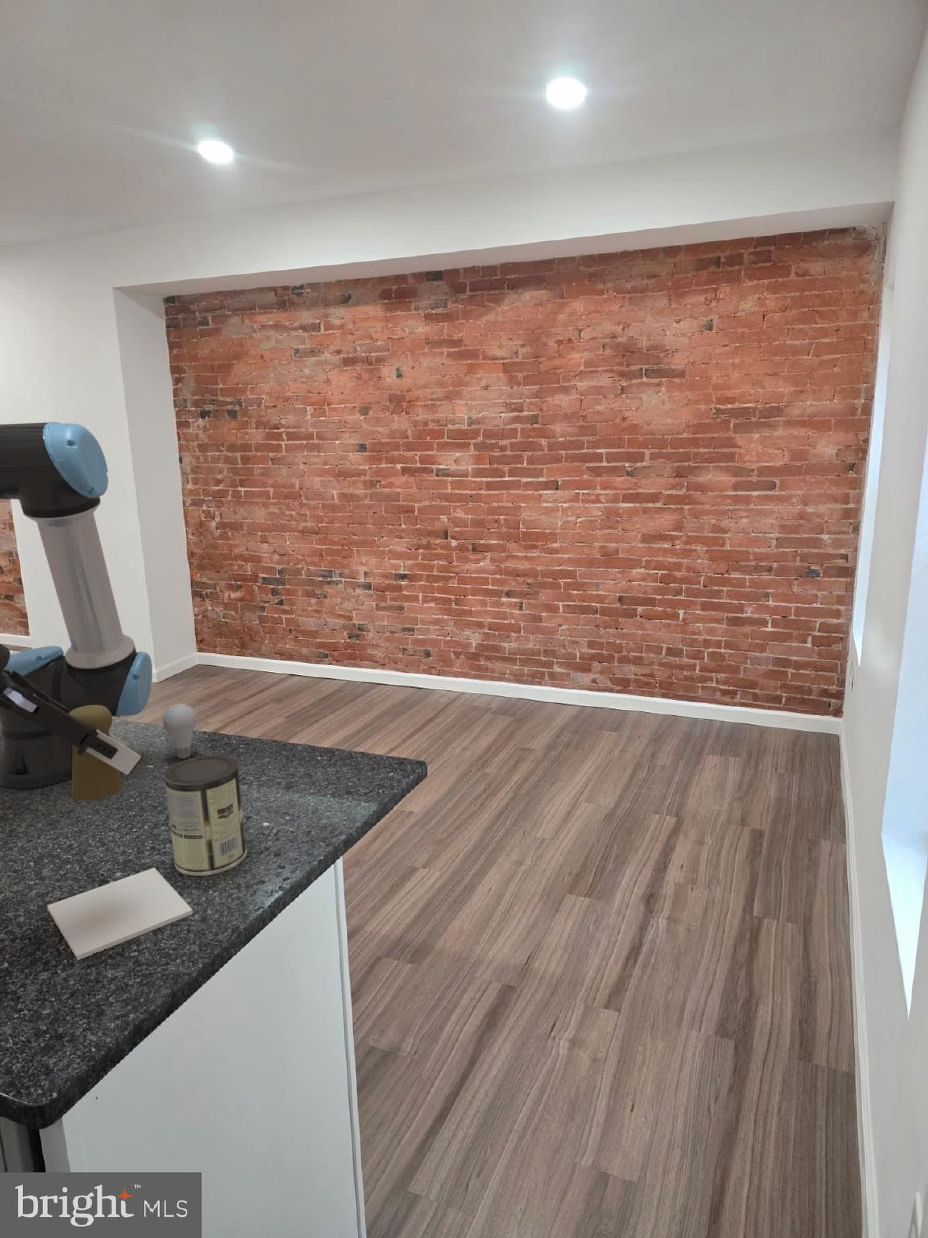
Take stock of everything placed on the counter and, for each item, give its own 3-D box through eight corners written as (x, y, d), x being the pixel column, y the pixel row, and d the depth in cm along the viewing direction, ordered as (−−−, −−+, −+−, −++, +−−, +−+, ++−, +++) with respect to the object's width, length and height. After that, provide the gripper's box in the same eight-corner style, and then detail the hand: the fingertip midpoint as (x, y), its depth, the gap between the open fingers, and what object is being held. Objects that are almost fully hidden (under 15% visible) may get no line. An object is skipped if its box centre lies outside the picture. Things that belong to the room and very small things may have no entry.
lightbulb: (161, 760, 153) (154, 706, 151) (187, 750, 158) (182, 697, 155) (180, 767, 150) (174, 712, 147) (207, 756, 155) (202, 702, 152)
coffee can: (197, 838, 123) (187, 752, 120) (258, 843, 121) (251, 756, 118) (159, 873, 113) (148, 781, 110) (225, 880, 111) (216, 786, 108)
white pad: (47, 909, 105) (47, 905, 105) (154, 871, 113) (154, 867, 113) (77, 960, 94) (76, 956, 94) (192, 914, 103) (192, 909, 103)
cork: (104, 802, 97) (93, 716, 95) (60, 799, 99) (49, 714, 96) (133, 782, 103) (124, 701, 101) (92, 779, 104) (82, 699, 102)
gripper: (-77, 669, 95) (87, 763, 108) (-56, 705, 81) (129, 806, 94) (-33, 619, 97) (123, 717, 110) (-4, 645, 83) (169, 753, 97)
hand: (125, 758), depth 102 cm, fingers closed on cork, 5 cm apart
